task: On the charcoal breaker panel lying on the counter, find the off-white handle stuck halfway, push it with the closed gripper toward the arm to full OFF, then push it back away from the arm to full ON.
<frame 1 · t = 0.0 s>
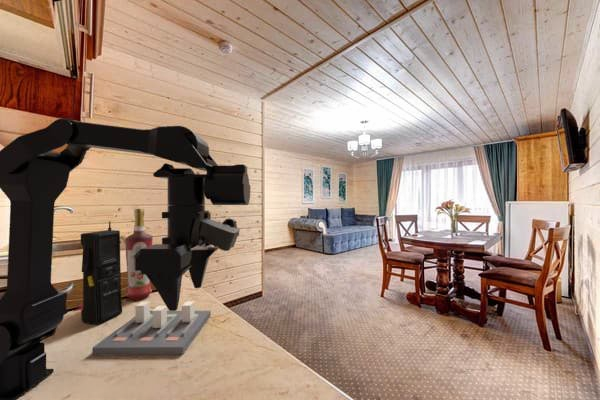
hand: (186, 297, 41), 15 cm above the counter, tool pointing down, fingers open, 9 cm apart
panel: (159, 332, 57), on the counter
cayenne pepper: (94, 304, 74), on the counter
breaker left: (142, 311, 60), point 4 cm above the counter, slide at 5.0 cm
breaker middle: (159, 316, 57), point 4 cm above the counter, slide at 2.5 cm
liquor: (139, 297, 78), on the counter
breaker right: (188, 311, 60), point 4 cm above the counter, slide at 5.0 cm
portable radio: (101, 319, 64), on the counter
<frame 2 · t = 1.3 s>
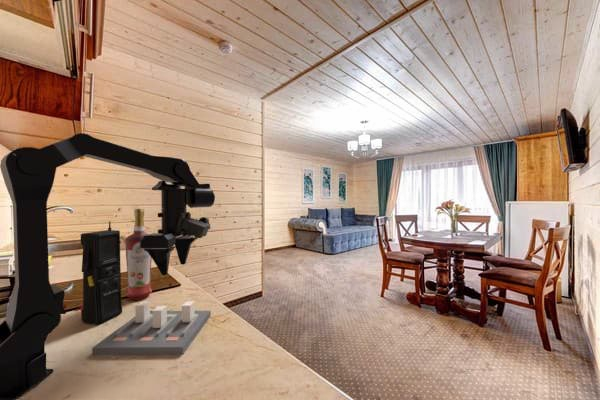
hand: (174, 269, 63), 13 cm above the counter, tool pointing down, fingers open, 9 cm apart
nothing on the counter moved.
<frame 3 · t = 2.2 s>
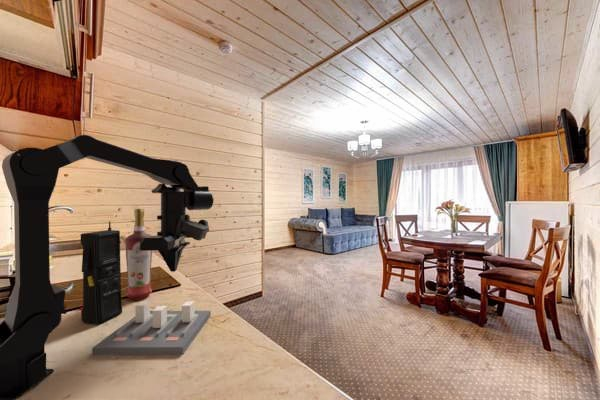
hand: (173, 271, 64), 12 cm above the counter, tool pointing down, fingers closed
nothing on the counter moved.
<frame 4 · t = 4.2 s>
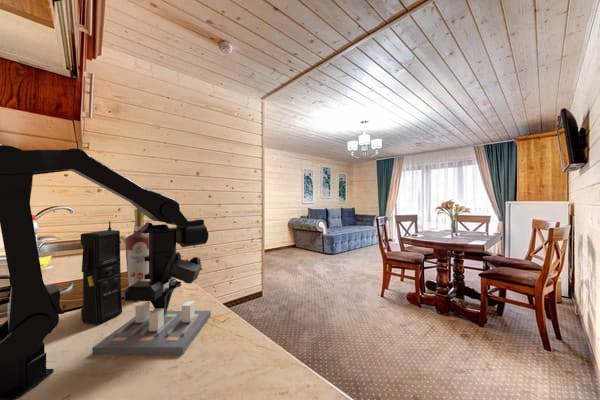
hand: (162, 315, 59), 3 cm above the counter, tool pointing down, fingers closed
breaker middle: (156, 319, 56), point 4 cm above the counter, slide at 1.1 cm, touching gripper
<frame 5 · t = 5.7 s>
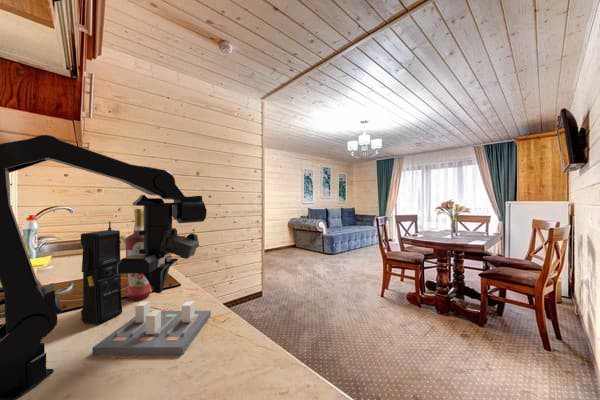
hand: (158, 292, 57), 10 cm above the counter, tool pointing down, fingers closed
breaker middle: (153, 322, 55), point 4 cm above the counter, slide at -0.1 cm
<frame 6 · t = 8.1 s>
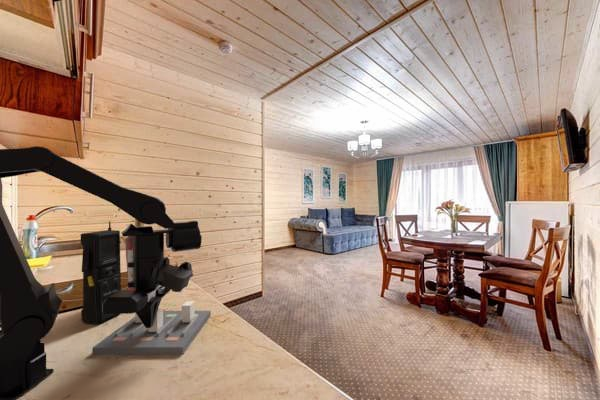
hand: (149, 327, 53), 4 cm above the counter, tool pointing down, fingers closed
breaker middle: (155, 320, 56), point 4 cm above the counter, slide at 0.9 cm, touching gripper
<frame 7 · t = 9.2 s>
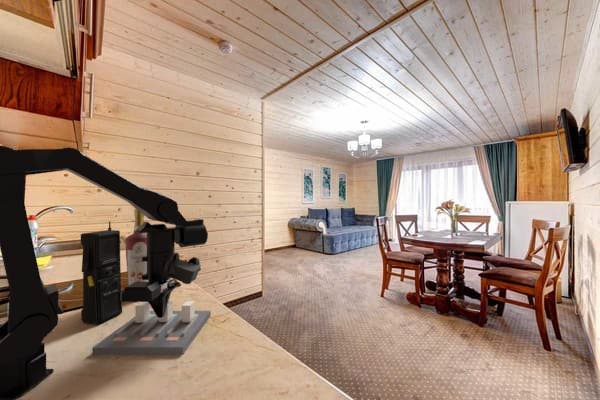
hand: (160, 317, 58), 4 cm above the counter, tool pointing down, fingers closed
breaker middle: (166, 311, 60), point 4 cm above the counter, slide at 5.2 cm, touching gripper
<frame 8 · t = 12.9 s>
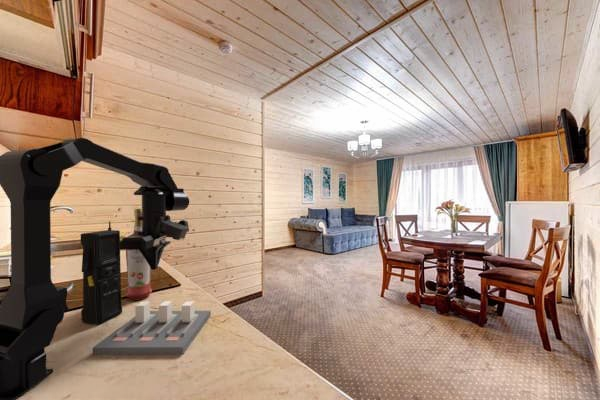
hand: (154, 269, 67), 12 cm above the counter, tool pointing down, fingers closed
cayenne pepper: (105, 304, 74), on the counter
breaker middle: (165, 311, 60), point 4 cm above the counter, slide at 5.1 cm
everything else where it was.
at the end: breaker middle slide at 5.1 cm; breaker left slide at 5.0 cm; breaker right slide at 5.0 cm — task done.
